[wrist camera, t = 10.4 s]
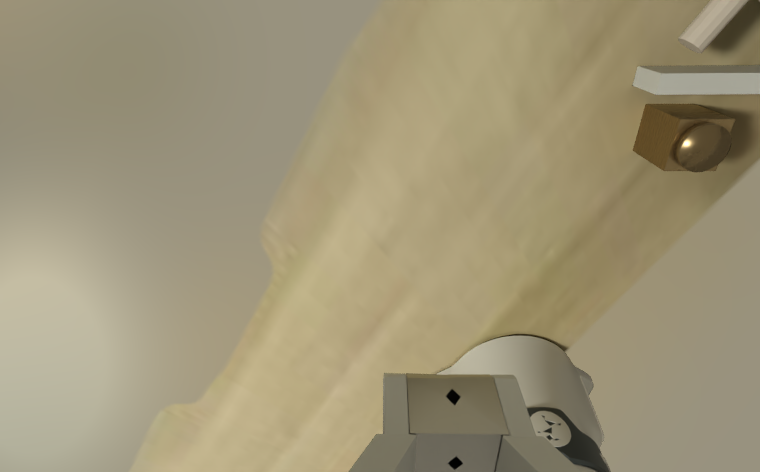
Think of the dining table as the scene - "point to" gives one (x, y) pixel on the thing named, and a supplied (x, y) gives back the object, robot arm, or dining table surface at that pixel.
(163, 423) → the dining table surface
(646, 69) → the socket cradle
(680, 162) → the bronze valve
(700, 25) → the beige crossed rod piece
